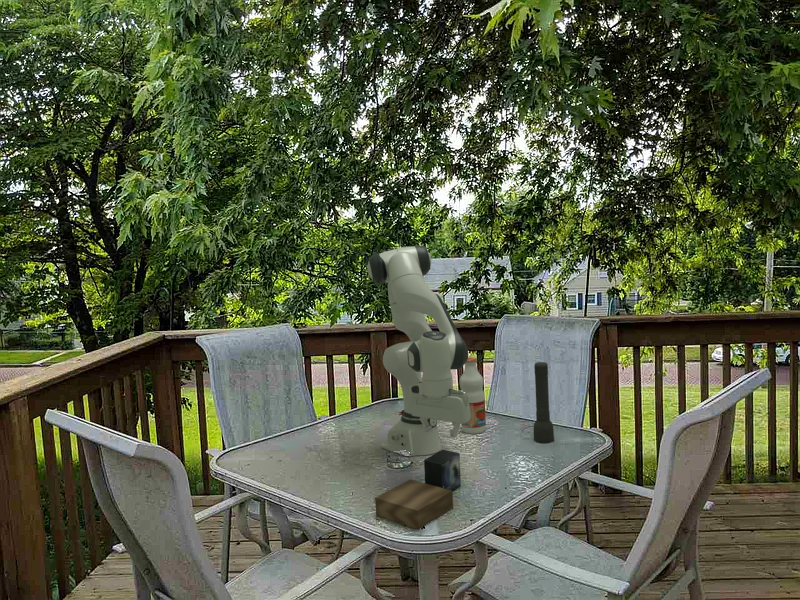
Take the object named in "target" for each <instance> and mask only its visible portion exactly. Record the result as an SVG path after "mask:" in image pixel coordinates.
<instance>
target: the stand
mask: <svg viewBox="0 0 800 600" xmlns="http://www.w3.org/2000/svg"><path fill="white" fill-rule="evenodd" d="M374 503H375V516H377V517H380V518H383V519H387V520H390V521H392V522H395V523H398V524H401V525H405V526H408V527H410V528H413V529H417V530H420V528H421V529H422V528H424V527H425V526H427V525H428V523H429V524H430V523H432V522H433V521H435V520H436V519H438V518H439V517H441V516H443V515H444V514H446V513H448V512H449V511H451V510H453V509H454V502H453V491H451V490H448V489H444V488H440V487H437V486H433V485H429V484H425V482H421V481H418V480H414V479H408V480H406V481H403V483H400V484H398V485H397V486H395V487H392V488H391V489H389V490H387V491H385V492H383V493H381V494H379V495H377V496H375V497H374ZM431 521H432V522H431ZM426 524H427V525H426ZM423 526H424V527H423Z"/></svg>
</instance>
